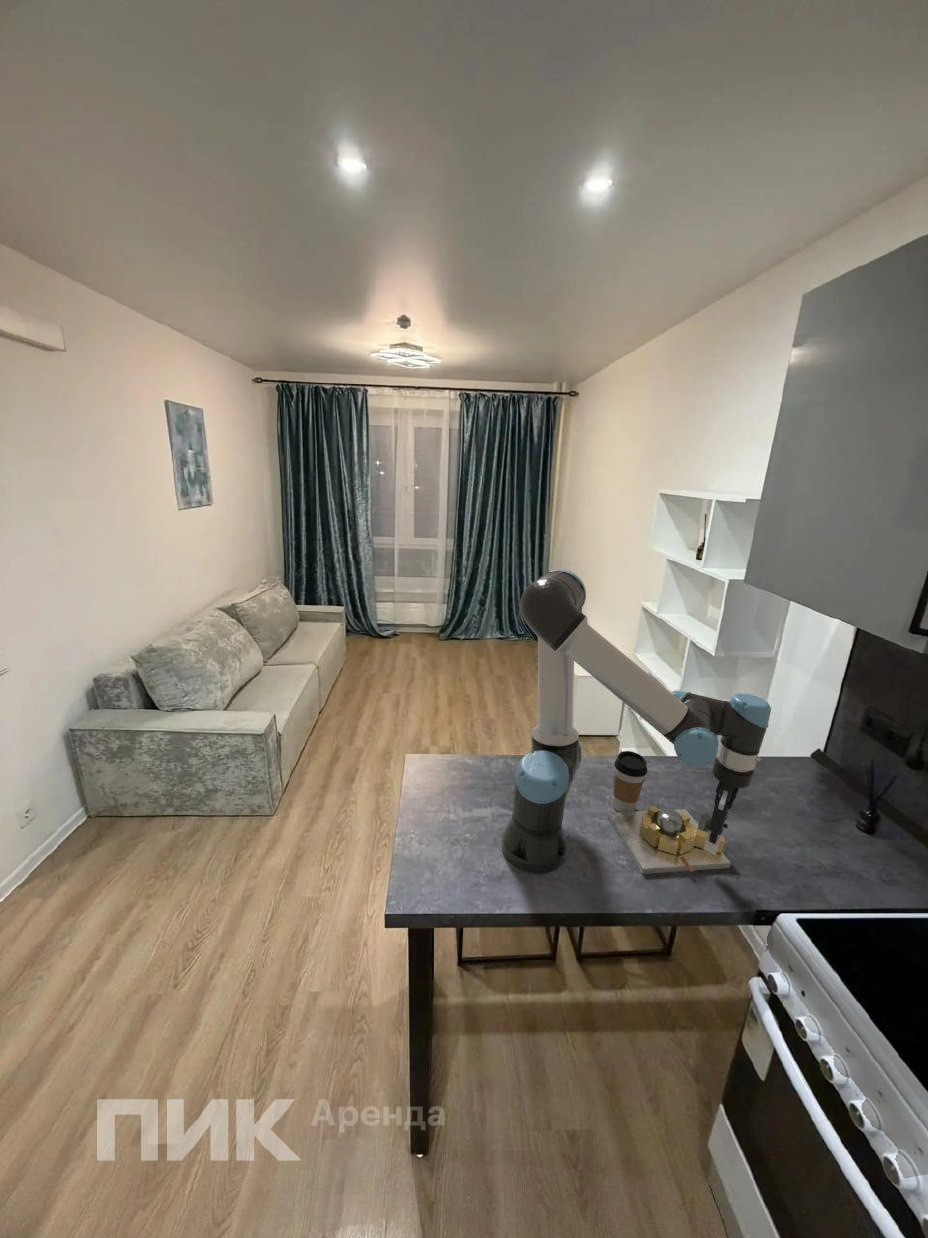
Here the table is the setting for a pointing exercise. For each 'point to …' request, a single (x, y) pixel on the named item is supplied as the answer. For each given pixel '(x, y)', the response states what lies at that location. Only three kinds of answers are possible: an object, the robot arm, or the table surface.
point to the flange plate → (658, 856)
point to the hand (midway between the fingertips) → (710, 850)
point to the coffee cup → (628, 780)
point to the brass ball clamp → (671, 844)
